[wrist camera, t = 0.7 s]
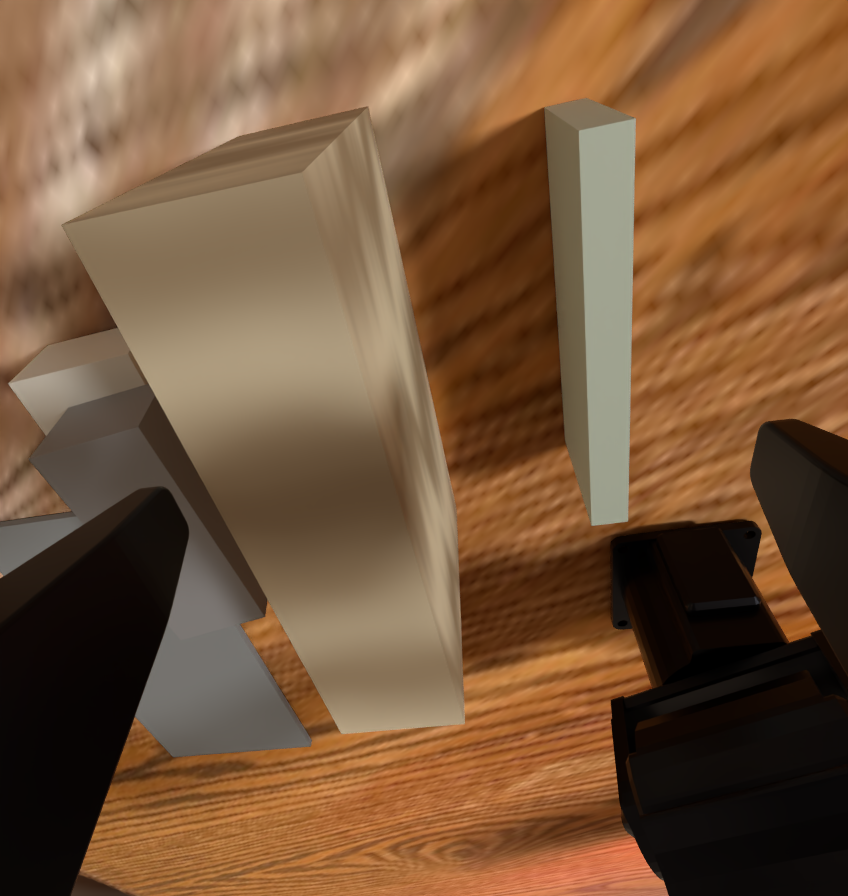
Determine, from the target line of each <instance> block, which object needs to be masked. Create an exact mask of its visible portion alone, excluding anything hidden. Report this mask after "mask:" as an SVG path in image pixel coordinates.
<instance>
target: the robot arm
mask: <svg viewBox="0 0 848 896" xmlns="http://www.w3.org/2000/svg"><path fill="white" fill-rule="evenodd" d="M750 477H751V482H752V485H753V488H754V490H755V492H756V495H757V497H758V500H759V502H760V504H761V507H762V509H763V512H764V514H765V516H766V519H767V521H768V524H769V526H770V528H771V531H772V533H773V536H774V538H775V540H776V543H777V545H778V548H779V550H780V552H781V555H782V557H783V560H784V562H785V564H786V566H787V568H788V571H789V573H790V575H791V577H792V578H793V580H794V582H795V584H796V586H797V588H798V590H799V591H800V593H801V595H802V597H803V599H804V600H805V602H806V604H807V606H808V607H809V609H810V611H811V613H812V614H813V616H814V618H815V620H816V621H817V623H818V625H819V627H820V628H821V630H818V631H815V632H812V633H811V636H808V637H805V638H802V639H799V640H796V641H793V642H790V643H789V641H788V639H787V638H786V636H785V634H784V632H783V631H782V629H781V627H780V626H779V624H778V622H777V620H776V619H775V617H774V615H773V613H772V612H771V610H770V608H769V607H768V605H767V603H766V601H765V600H764V598H763V596H762V594H761V593H760V591H759V589H758V587H757V586H756V584H755V582H754V581H753V579H752V576H753V572H754V567H755V562H756V558H757V553H758V548H759V543H760V539H761V534H762V533H761V530H760V528H759V527H758V525H757V524H756V523H755V522H753V521H742V522H734V523H726V524H717V525H709V526H701V527H692V528H684V529H676V530H668V531H659V532H651V533H643V534H634V535H626V536H620V537H617V538H615V539H613V541H612V542H611V545H610V559H611V620H612V624H613V627H615V628H616V629H632V628H633V631H634V634H635V637H636V640H637V643H638V646H639V649H640V652H641V656H642V659H643V662H644V665H645V668H646V671H647V674H648V677H649V680H650V683H651V686H652V689H649V690H646V691H643V692H640V693H637V694H634V695H631V696H628V697H624V696H621V697H618V698H615V699H612V700H611V709H612V719H611V725H612V735H613V744H614V754H615V763H616V773H617V782H618V792H619V801H620V806H621V809H622V811H621V819H622V823H623V826H624V828H625V830H626V831H627V833H629V834H630V835H631V836H633V837H634V838H635V840H636V842H637V844H638V846H639V848H640V850H641V852H642V854H643V856H644V858H645V860H646V862H647V863H648V865H649V866H650V868H651V869H652V871H653V872H654V873H655V874H656V875H657V876H658V877H659V878H660V879H662V880H664V882H665V885H666V888H667V891H668V895H669V896H848V440H847V439H845V438H842V437H840V436H837V435H835V434H832V433H830V432H827V431H825V430H822V429H820V428H817V427H815V426H812V425H810V424H807V423H805V422H802V421H800V420H797V419H785V420H776V421H768V422H765V423H764V424H762V425H761V427H760V429H759V431H758V435H757V440H756V444H755V449H754V453H753V458H752V463H751V468H750ZM188 540H189V527H188V523H187V521H186V519H185V517H184V515H183V514H182V512H181V510H180V508H179V506H178V504H177V502H176V500H175V499H174V497H173V495H172V493H171V492H170V490H169V489H168V488H166V487H163V486H156V487H147V488H140V489H138V490H136V491H134V492H133V493H131V494H130V495H128V496H126V497H125V498H123V499H122V500H120V501H119V502H117V503H116V504H114V505H113V506H111V507H110V508H108V509H106V510H105V511H103V512H102V513H100V514H99V515H97V516H96V517H94V518H93V519H91V520H90V521H88V522H86V523H85V524H83V525H82V526H80V527H79V528H77V529H76V530H74V531H73V532H71V533H70V534H68V535H66V536H65V537H63V538H62V539H60V540H59V541H57V542H56V543H54V544H53V545H51V546H50V547H48V548H46V549H45V550H43V551H42V552H40V553H39V554H37V555H36V556H34V557H33V558H31V559H29V560H28V561H26V562H25V563H23V564H22V565H20V566H19V567H17V568H16V569H14V570H13V571H11V572H9V573H8V574H6V575H5V576H3V577H2V578H0V896H71V894H72V891H73V888H74V885H75V883H76V879H77V877H78V874H79V871H80V869H81V866H82V863H83V860H84V857H85V855H86V852H87V849H88V846H89V843H90V841H91V838H92V835H93V832H94V830H95V827H96V824H97V821H98V818H99V816H100V813H101V810H102V807H103V804H104V802H105V799H106V796H107V793H108V790H109V788H110V785H111V782H112V779H113V776H114V774H115V771H116V768H117V765H118V762H119V760H120V757H121V754H122V751H123V748H124V746H125V743H126V740H127V737H128V734H129V732H130V729H131V726H132V723H133V720H134V718H135V715H136V712H137V709H138V706H139V704H140V701H141V698H142V695H143V692H144V690H145V687H146V684H147V681H148V678H149V676H150V673H151V670H152V667H153V664H154V662H155V659H156V656H157V653H158V650H159V648H160V645H161V642H162V639H163V636H164V633H165V630H166V627H167V624H168V621H169V617H170V614H171V610H172V606H173V602H174V598H175V594H176V590H177V586H178V581H179V577H180V573H181V569H182V565H183V561H184V556H185V552H186V548H187V544H188ZM622 546H624V547H622Z"/></svg>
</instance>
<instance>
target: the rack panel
mask: <svg viewBox="0 0 848 896" xmlns="http://www.w3.org/2000/svg"><path fill="white" fill-rule="evenodd" d="M544 113H545V129H546V145H547V161H548V177H549V193H550V208H551V224H552V240H553V256H554V272H555V288H556V304H557V320H558V336H559V352H560V368H561V384H562V400H563V416H564V432H565V442H566V445H567V449H568V452H569V455H570V458H571V461H572V465H573V468H574V471H575V474H576V477H577V481H578V484H579V487H580V490H581V493H582V497H583V500H584V503H585V506H586V509H587V513H588V516H589V519H590V522H591V526H594V525H602V524H610V523H619V522H627V521H628V492H629V440H630V388H631V335H632V283H633V231H634V179H635V127H636V118H633V117H631V116H629V115H626V114H624V113H621V112H619V111H617V110H614V109H612V108H609V107H607V106H605V105H602V104H600V103H597V102H595V101H592V100H590V99H588V98H584V99H580V100H575V101H571V102H566V103H562V104H557V105H553V106H548V107H544Z"/></svg>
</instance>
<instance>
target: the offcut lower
mask: <svg viewBox="0 0 848 896" xmlns="http://www.w3.org/2000/svg"><path fill="white" fill-rule="evenodd" d="M8 384H9V386H10V387H11V388H12V390H13V391H14V393H15V394H16V395H17V397H18V398H19V399H20V401H21V402H22V404H23V405H24V406H25V408H26V409H27V410H28V412H29V413H30V415H31V416H32V417H33V419H34V420H35V421H36V423H37V424H38V426H39V427H40V428H41V430H42V431H43V432H44V434H45V435H46V436H47V434H48V433H49V432H50V431H51V429H52V428H53V427H54V425H55V424H56V423H57V422H58V420H59V419H60V418H61V416H62V415H63V414H64V413H65V411H66V410H67V409H68V408H69V407H72V406H75V405H79V404H82V403H86V402H89V401H92V400H96V399H99V398H102V397H106V396H109V395H113V394H116V393H119V392H123V391H126V390H129V389H133V388H136V387H139V386H143V385H146V384H149V383H148V381H147V380H146V378H145V376H144V374H143V372H142V370H141V369H140V367H139V365H138V363H137V361H136V360H135V358H134V356H133V354H132V352H131V350H130V349H129V347H128V345H127V343H126V341H125V340H124V338H123V336H122V334H121V332H120V330H119V329H118V328H115V329H111V330H107V331H103V332H99V333H95V334H91V335H87V336H83V337H79V338H75V339H71V340H67V341H63V342H59V343H55V344H51V345H47V346H46V347H45V348H44V349H43V350H42V351H41V352H40V353H39V354H38V355H37V356H36V357H35V358H34V359H33V360H32V361H31V362H30V363H29V364H28V365H27V366H26V367H25V368H24V369H23V370H22V371H21V372H19V373H18V374H17V375H16V376H15V377H14V378H13V379H12V380H11V381H10V382H9V383H8Z"/></svg>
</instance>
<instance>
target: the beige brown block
mask: <svg viewBox="0 0 848 896" xmlns="http://www.w3.org/2000/svg"><path fill="white" fill-rule="evenodd" d="M62 227H63V229H64V231H65V232H66V234H67V236H68V238H69V240H70V241H71V243H72V245H73V247H74V249H75V251H76V252H77V254H78V256H79V258H80V260H81V261H82V263H83V265H84V267H85V269H86V271H87V272H88V274H89V276H90V278H91V280H92V281H93V283H94V285H95V287H96V289H97V291H98V292H99V294H100V296H101V298H102V300H103V301H104V303H105V305H106V307H107V309H108V311H109V312H110V314H111V316H112V318H113V320H114V321H115V323H116V325H117V327H118V329H119V330H120V332H121V334H122V336H123V338H124V340H125V341H126V343H127V345H128V347H129V349H130V350H131V352H132V354H133V356H134V358H135V360H136V361H137V363H138V365H139V367H140V369H141V370H142V372H143V374H144V376H145V378H146V380H147V381H148V383H149V385H150V387H151V389H152V390H153V392H154V394H155V396H156V398H157V400H158V401H159V403H160V405H161V407H162V409H163V410H164V412H165V414H166V416H167V418H168V420H169V421H170V423H171V425H172V427H173V429H174V430H175V432H176V434H177V436H178V438H179V439H180V441H181V443H182V445H183V447H184V449H185V450H186V452H187V454H188V456H189V458H190V459H191V461H192V463H193V465H194V467H195V469H196V470H197V472H198V474H199V476H200V478H201V479H202V481H203V483H204V485H205V487H206V489H207V490H208V492H209V494H210V496H211V498H212V499H213V501H214V503H215V505H216V507H217V509H218V510H219V512H220V514H221V516H222V518H223V519H224V521H225V523H226V525H227V527H228V528H229V530H230V532H231V534H232V536H233V538H234V539H235V541H236V543H237V545H238V547H239V548H240V550H241V552H242V554H243V556H244V558H245V559H246V561H247V563H248V565H249V567H250V568H251V570H252V572H253V574H254V576H255V578H256V579H257V581H258V583H259V585H260V587H261V588H262V590H263V592H264V594H265V596H266V598H267V599H268V601H269V603H270V605H271V607H272V608H273V610H274V612H275V614H276V616H277V618H278V619H279V621H280V623H281V625H282V627H283V628H284V630H285V632H286V634H287V636H288V637H289V639H290V641H291V643H292V645H293V647H294V648H295V650H296V652H297V654H298V656H299V657H300V659H301V661H302V663H303V665H304V667H305V668H306V670H307V672H308V674H309V676H310V677H311V679H312V681H313V683H314V685H315V687H316V688H317V690H318V692H319V694H320V696H321V697H322V699H323V701H324V703H325V705H326V707H327V708H328V710H329V712H330V714H331V716H332V717H333V719H334V721H335V723H336V725H337V727H338V728H339V730H340V732H341V734H348V733H360V732H372V731H384V730H396V729H408V728H421V727H433V726H445V725H457V724H465V714H464V688H463V662H462V637H461V611H460V586H459V560H458V535H457V509H456V505H455V500H454V495H453V491H452V486H451V482H450V477H449V473H448V468H447V463H446V459H445V454H444V450H443V445H442V441H441V436H440V432H439V427H438V422H437V418H436V413H435V409H434V404H433V400H432V395H431V390H430V386H429V381H428V377H427V372H426V368H425V363H424V359H423V354H422V349H421V345H420V340H419V336H418V331H417V327H416V322H415V317H414V313H413V308H412V304H411V299H410V295H409V290H408V286H407V281H406V276H405V272H404V267H403V263H402V258H401V254H400V249H399V244H398V240H397V235H396V231H395V226H394V222H393V217H392V213H391V208H390V203H389V199H388V194H387V190H386V185H385V181H384V176H383V171H382V167H381V162H380V158H379V153H378V149H377V144H376V140H375V135H374V130H373V126H372V121H371V117H370V112H369V108H368V106H367V107H363V108H359V109H354V110H350V111H346V112H341V113H337V114H333V115H328V116H324V117H320V118H315V119H311V120H307V121H302V122H298V123H294V124H289V125H285V126H281V127H277V128H272V129H268V130H264V131H259V132H255V133H251V134H246V135H242V136H239V137H237V138H235V139H233V140H231V141H229V142H227V143H225V144H223V145H221V146H219V147H217V148H215V149H213V150H211V151H209V152H207V153H205V154H203V155H201V156H199V157H197V158H195V159H193V160H190V161H188V162H186V163H184V164H182V165H180V166H178V167H176V168H174V169H172V170H170V171H168V172H166V173H164V174H162V175H160V176H158V177H156V178H154V179H152V180H150V181H148V182H146V183H144V184H142V185H140V186H138V187H136V188H134V189H132V190H130V191H128V192H126V193H124V194H122V195H120V196H118V197H116V198H114V199H112V200H110V201H108V202H106V203H104V204H102V205H100V206H98V207H96V208H94V209H92V210H90V211H88V212H86V213H84V214H82V215H80V216H78V217H76V218H74V219H72V220H70V221H68V222H66V223H64V224H62Z"/></svg>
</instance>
